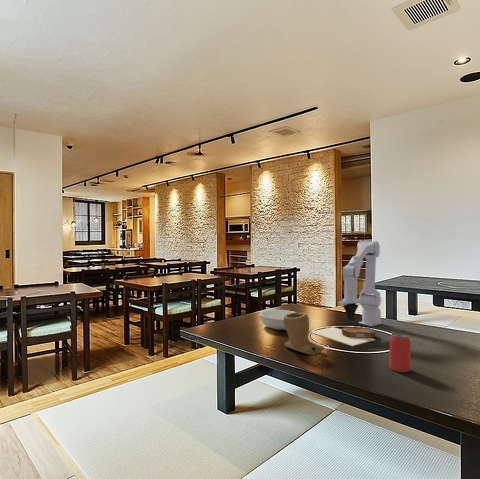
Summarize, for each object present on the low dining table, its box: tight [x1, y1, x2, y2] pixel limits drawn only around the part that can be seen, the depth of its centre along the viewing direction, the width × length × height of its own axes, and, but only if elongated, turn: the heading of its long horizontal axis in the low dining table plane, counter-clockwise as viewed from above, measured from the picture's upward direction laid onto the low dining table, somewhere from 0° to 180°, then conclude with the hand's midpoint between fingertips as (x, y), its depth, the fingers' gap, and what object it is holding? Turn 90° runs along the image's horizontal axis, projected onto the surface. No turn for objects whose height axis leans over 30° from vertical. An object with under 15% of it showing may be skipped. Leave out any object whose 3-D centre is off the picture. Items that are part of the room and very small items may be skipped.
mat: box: [310, 326, 376, 347], centre depth 157 cm, size 16×24×1 cm, turn 34°
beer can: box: [388, 332, 412, 373], centre depth 118 cm, size 7×7×12 cm
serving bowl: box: [259, 309, 295, 331], centre depth 171 cm, size 21×21×7 cm
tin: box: [341, 326, 376, 339], centre depth 157 cm, size 15×3×8 cm
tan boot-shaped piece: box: [284, 311, 325, 355], centre depth 137 cm, size 15×12×15 cm
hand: (350, 319), depth 160 cm, fingers closed
